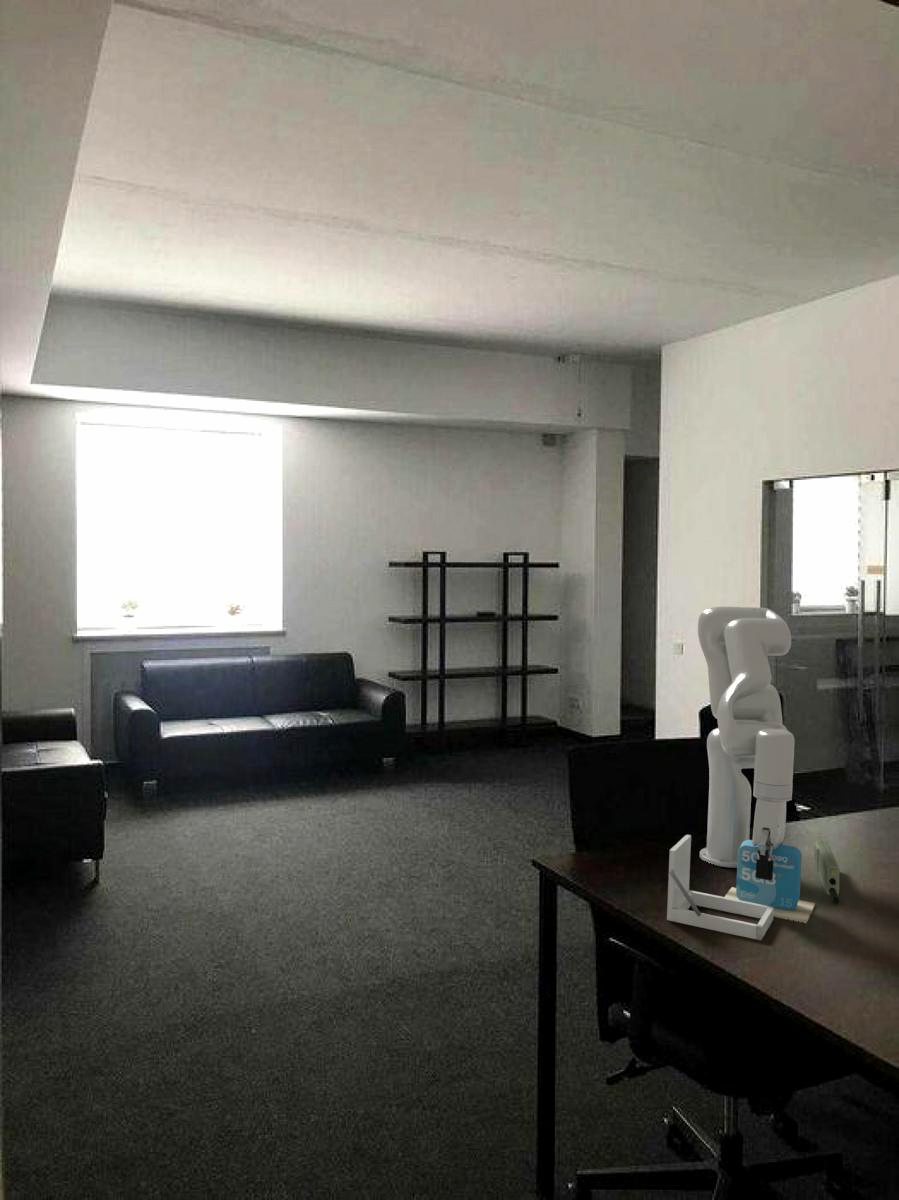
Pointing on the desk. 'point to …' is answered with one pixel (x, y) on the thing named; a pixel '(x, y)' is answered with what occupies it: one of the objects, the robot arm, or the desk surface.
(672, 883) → the stand
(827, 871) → the handheld radio
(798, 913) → the birch board
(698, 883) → the desk surface
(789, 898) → the data package
